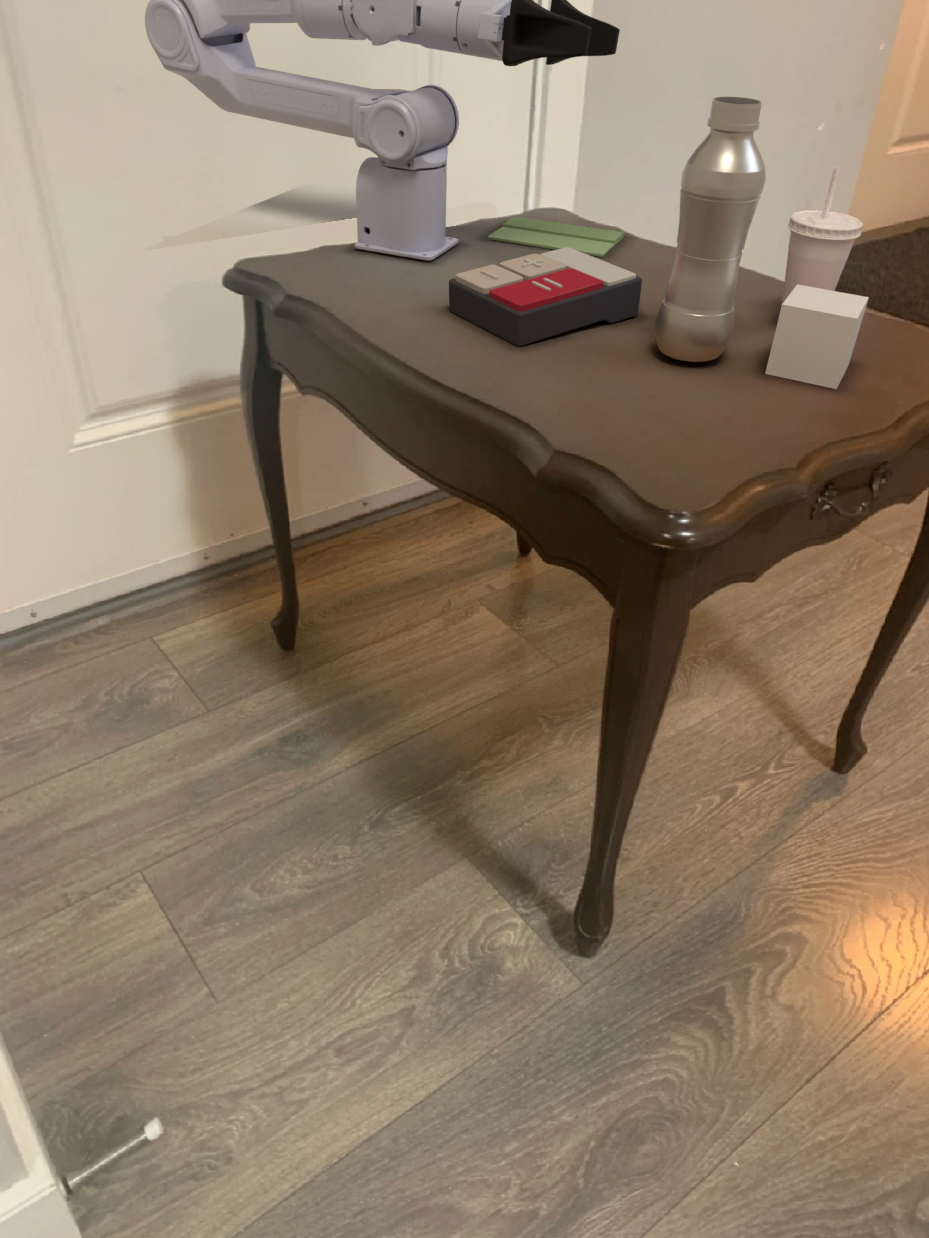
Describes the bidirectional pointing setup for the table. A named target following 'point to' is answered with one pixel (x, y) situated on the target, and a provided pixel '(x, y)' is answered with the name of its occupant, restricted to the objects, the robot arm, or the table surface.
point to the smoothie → (819, 245)
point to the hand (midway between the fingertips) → (603, 41)
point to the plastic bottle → (712, 233)
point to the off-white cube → (816, 335)
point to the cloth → (557, 236)
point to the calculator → (544, 295)
